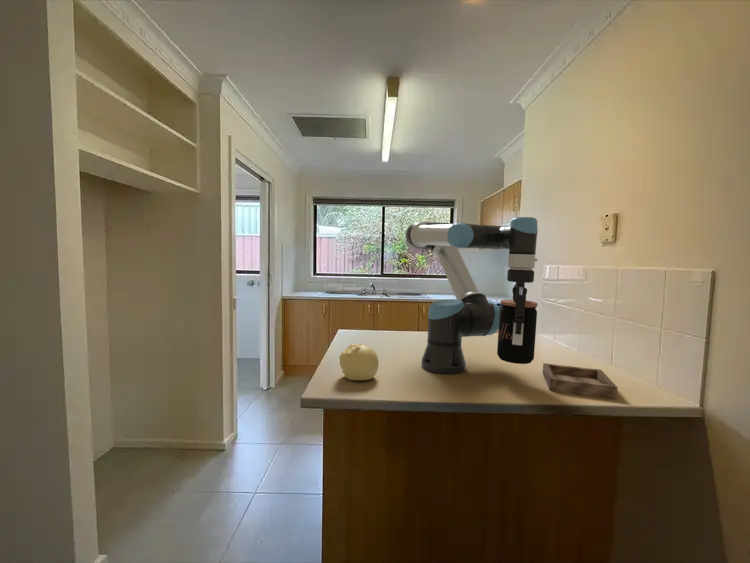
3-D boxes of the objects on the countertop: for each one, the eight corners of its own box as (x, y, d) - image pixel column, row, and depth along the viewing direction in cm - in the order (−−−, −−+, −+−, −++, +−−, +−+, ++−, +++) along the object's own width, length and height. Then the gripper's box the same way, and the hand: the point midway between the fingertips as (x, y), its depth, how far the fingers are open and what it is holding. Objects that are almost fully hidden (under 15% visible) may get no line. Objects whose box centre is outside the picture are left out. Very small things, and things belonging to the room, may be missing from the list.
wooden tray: (549, 390, 105) (550, 378, 105) (542, 373, 121) (543, 363, 121) (616, 399, 100) (617, 387, 100) (600, 380, 116) (600, 369, 116)
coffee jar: (491, 354, 116) (494, 299, 114) (523, 354, 116) (527, 299, 115) (505, 364, 105) (509, 303, 104) (540, 365, 106) (544, 304, 104)
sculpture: (347, 370, 119) (348, 338, 118) (382, 374, 115) (383, 341, 114) (333, 381, 108) (334, 346, 107) (371, 386, 104) (372, 350, 103)
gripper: (538, 270, 96) (532, 351, 98) (531, 268, 118) (526, 334, 120) (508, 269, 99) (503, 347, 100) (506, 267, 121) (502, 331, 122)
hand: (516, 340), depth 110 cm, fingers closed on coffee jar, 11 cm apart
